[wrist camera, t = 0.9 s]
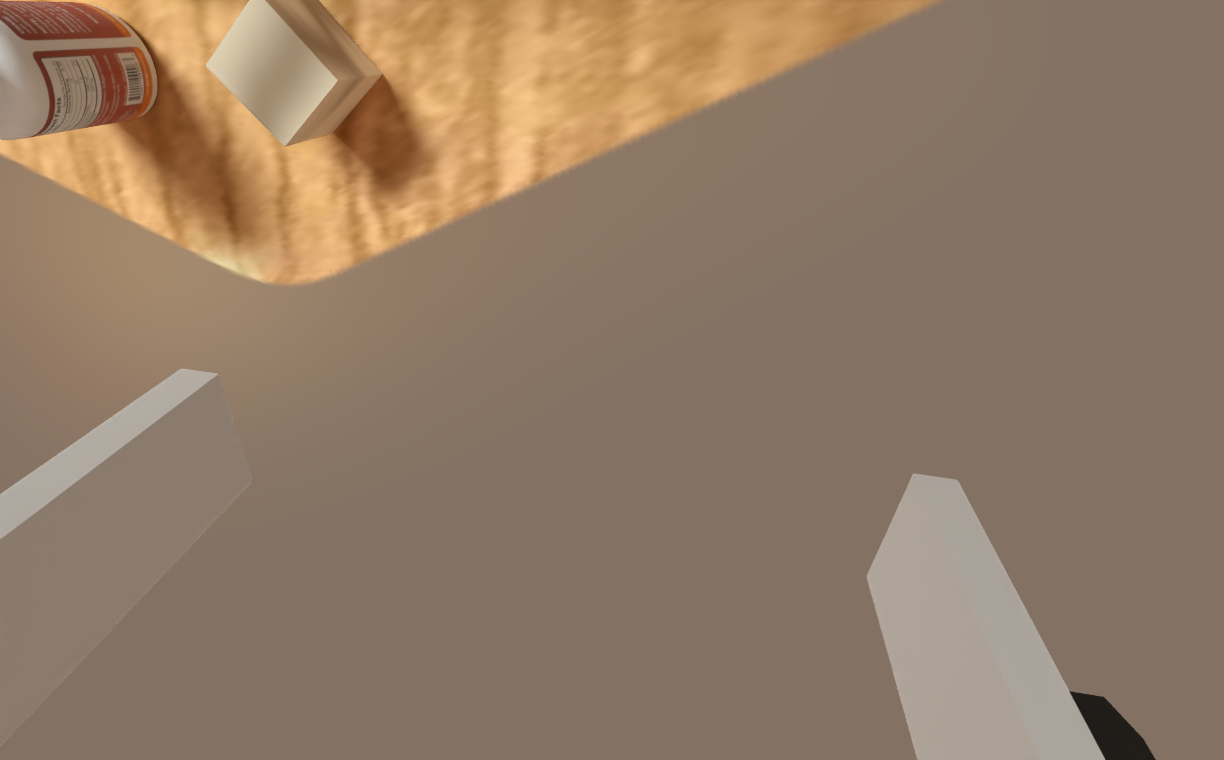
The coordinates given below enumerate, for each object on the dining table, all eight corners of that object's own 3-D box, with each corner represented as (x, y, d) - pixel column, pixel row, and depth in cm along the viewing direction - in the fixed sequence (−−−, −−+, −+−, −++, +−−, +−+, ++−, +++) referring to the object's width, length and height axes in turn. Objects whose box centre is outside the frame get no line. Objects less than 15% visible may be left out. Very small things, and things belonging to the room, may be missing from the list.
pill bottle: (40, 33, 36) (-199, 35, 26) (106, -18, 34) (-126, -35, 25) (117, 136, 39) (-76, 171, 29) (183, 93, 37) (0, 117, 27)
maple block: (266, 60, 35) (205, 65, 31) (314, -6, 33) (255, -10, 29) (333, 132, 37) (284, 146, 32) (383, 73, 35) (338, 80, 30)
